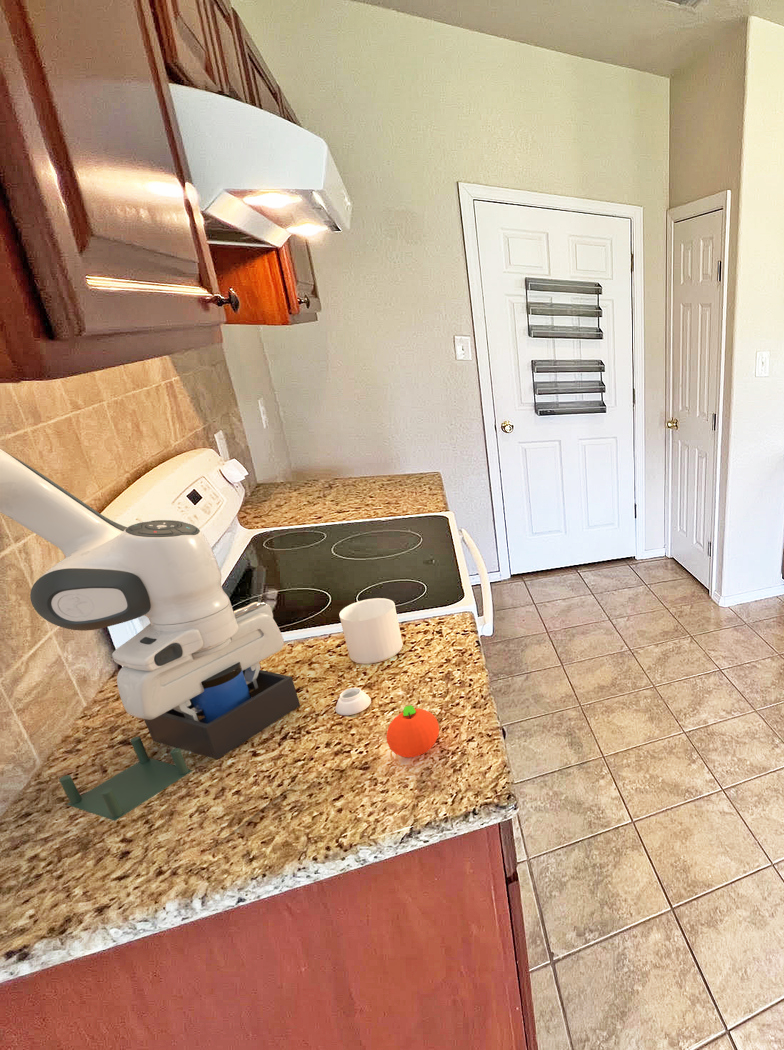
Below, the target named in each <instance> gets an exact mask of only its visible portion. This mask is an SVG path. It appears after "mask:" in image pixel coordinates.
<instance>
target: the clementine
mask: <svg viewBox="0 0 784 1050" xmlns="http://www.w3.org/2000/svg"><path fill="white" fill-rule="evenodd" d="M439 734H440V726H439V721H438V719H437V718H436V716H435V715H434V714H433V713H432V712H430V711H428V710H426V709H424V708H415V707H414V706H413V705H411V704H409V705H406V706H405V707H404V708H403V711H402V712H400V713H399V714H398V715H396V716H395V717H394V718H393V719H392V720H391V722H390V723H389V725H388V728H387V730H386V743H387V745H388V747H389V749H390V750H391V751H392V752H393V753H394V754H395V755H397V756H400V757H403V758H415V757H418V756H421V755H424V754H425V753H427V752H429V750H431V748H433V746H434V745H435V743H437V739H438V737H439Z"/></svg>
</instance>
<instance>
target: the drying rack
mask: <svg viewBox="0 0 784 1050" xmlns="http://www.w3.org/2000/svg"><path fill="white" fill-rule="evenodd" d="M130 744H131V746H132V748H133V750H134V753H135V755H136V757H137V761H138V762H136V763H134V764H133V765H131V766H129V767H127V768H125V769H124V770H122V771H120V772H119V773H116V775H114V776H112V777H110V778H108V779H107V780H105V781H103V782H101V783H100V784H98V785H96V786H95V787H93V788H91V789H90V790H88V791H86V792H85V793H83V794H80V792H79V790H78V787H77V786H76V783H75V782H74V780H73V778H72V775H70V774H66V775H63V776H61V777H60V778H59V779H58V781H59V783H60V786H61V787H62V789H63V791H64V793H65V795H66V797H67V799H68V800H69V802H68V803H66V806H69V807H73V808H76V809H79V810H81V811H85V812H87V813H90V814H93V815H97V816H99V817H102V818H105V819H108V820H111V821H114V822H115V821H118V820H119V819H120V818H122V817H123V816H125V815H126V814H128V813H130V812H131V811H133V810H134V809H136V808H138V807H139V806H141V805H142V804H143V803H145V802H147V801H149V800H150V799H152V798H154V796H156V795H158V794H159V793H160V792H162V791H165V789H167V788H169V787H170V786H171V785H174V784H175V783H176V782H178V781H179V780H181V779H182V778H184V777H185V776H187V775H189V774H190V773H192V772H193V771H194V770H192V769H190V768H188V766H187V763H186V761H185V758H184V755H183V754H182V750H181V749H180V748H175V747H173V748H172V749H171V750H170V751H169V753H170V756H171V758H172V761H173V763H174V764H172V763H169V762H166V761H162V760H159V759H155V758H152V757H149V755H148V752H147V750H146V748H145V745H144V742H143V741H142V738H141V737H140V736H135V737H133V738H131V739H130Z"/></svg>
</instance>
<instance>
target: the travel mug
mask: <svg viewBox="0 0 784 1050" xmlns="http://www.w3.org/2000/svg"><path fill="white" fill-rule="evenodd" d="M201 683H202V686H203V688H204V692H203V693H201V694H199V695H197V696H195V697H193V698H192V699H191V700H192V702H193V705H194V707H195V708H198V709H203V711H204V715H205V717H206V718H205V719H203V720H202V721H200V722H202V723H205V724H208V723H210V722H212V721H213V720H215V719H217V718H218V717H220V716H222V715H223V714H225V713H227V712H229V711H230V710H232V709H234V708H235V707H237V706H239V705H240V704H242V703H244V702H246V701H247V700H249V699H251V698H252V697H251V695H250V692H249V689H248V686H247V683H246V680H245V677H244V674H243V671H242V667H241V664H240V662H238V663H236V664H235V665H233V666H231V667H229V668H227V669H225V670H223V671H221V672H219V673H217V674H215V675H213V676H212V677H210V678H208V679H206V680H204V681H202V682H201Z"/></svg>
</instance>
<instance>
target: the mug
mask: <svg viewBox="0 0 784 1050" xmlns="http://www.w3.org/2000/svg"><path fill="white" fill-rule="evenodd" d="M338 614H339V620H340V623H341V628H342V632H343V636H344V640H345V645H346V649H347V653H348V657H349V659H350V660H351V661H352V662H354V663H356V664H361V665H370V664H376V663H380V662H383V661H386V660H389V659H391V658H393V657H394V656H396V655H398V653H400V652H401V650H402V648H403V646H404V644H403V638H402V633H401V628H400V624H399V618H398V613H397V609H396V604H395V602H394V600H392V599H389V598H385V597H383V598H381V597H375V598H367V599H363V600H358V601H356V602H353V603H351V604H349V605H347V606H345V607H343V608H342V609H341V610H340V612H339V613H338Z"/></svg>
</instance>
